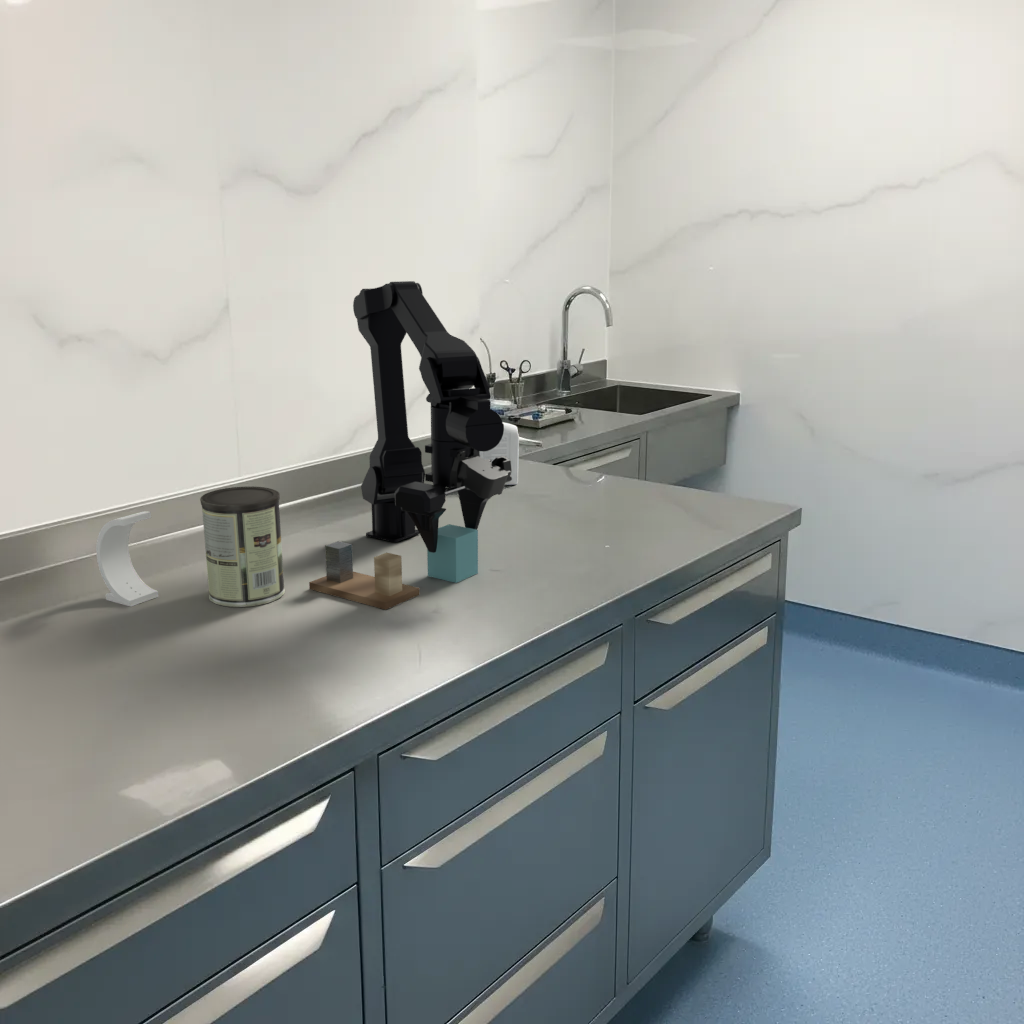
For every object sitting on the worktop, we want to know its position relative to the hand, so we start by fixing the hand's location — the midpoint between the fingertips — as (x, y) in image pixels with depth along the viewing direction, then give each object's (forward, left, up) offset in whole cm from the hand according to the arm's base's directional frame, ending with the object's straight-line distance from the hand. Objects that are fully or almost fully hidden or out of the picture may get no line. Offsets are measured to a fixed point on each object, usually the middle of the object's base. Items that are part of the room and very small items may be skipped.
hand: (452, 544), depth 151 cm
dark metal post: (-10, -13, -5) cm, 17 cm away
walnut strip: (-5, -13, -5) cm, 15 cm away
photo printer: (-27, +48, -5) cm, 55 cm away
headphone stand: (-30, -33, -5) cm, 45 cm away
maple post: (-1, -13, -5) cm, 14 cm away
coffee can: (-18, -23, -5) cm, 30 cm away
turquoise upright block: (0, 0, -5) cm, 5 cm away
